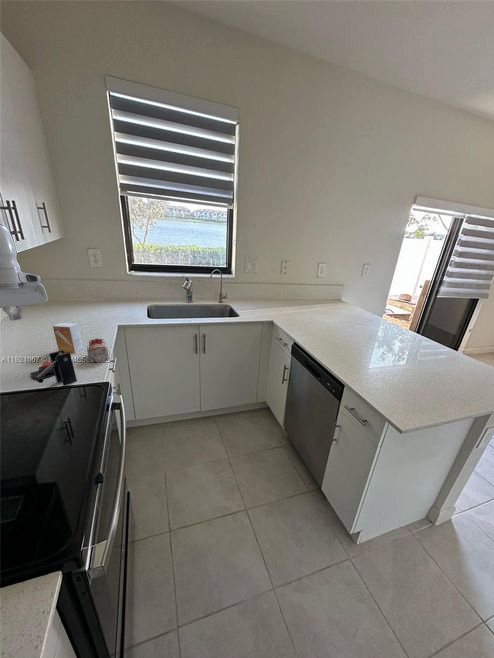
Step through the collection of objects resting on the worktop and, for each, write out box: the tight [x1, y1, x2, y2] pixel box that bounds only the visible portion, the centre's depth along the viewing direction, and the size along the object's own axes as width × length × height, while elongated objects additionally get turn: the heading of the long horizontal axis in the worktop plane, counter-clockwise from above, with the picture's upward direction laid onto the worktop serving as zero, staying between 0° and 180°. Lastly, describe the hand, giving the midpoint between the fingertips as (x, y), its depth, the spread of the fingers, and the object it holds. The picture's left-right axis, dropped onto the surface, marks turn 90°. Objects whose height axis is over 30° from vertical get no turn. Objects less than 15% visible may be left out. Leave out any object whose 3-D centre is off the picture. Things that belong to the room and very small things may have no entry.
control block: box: [30, 365, 55, 380], centre depth 114 cm, size 10×8×4 cm
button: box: [41, 361, 52, 369], centre depth 113 cm, size 4×4×2 cm
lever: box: [30, 352, 63, 384], centre depth 101 cm, size 12×5×2 cm, turn 154°
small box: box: [52, 322, 84, 354], centre depth 138 cm, size 8×6×13 cm
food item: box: [86, 338, 110, 364], centre depth 129 cm, size 14×8×10 cm, turn 32°
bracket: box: [48, 350, 78, 386], centre depth 106 cm, size 12×9×13 cm
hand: (16, 319), depth 97 cm, fingers closed
